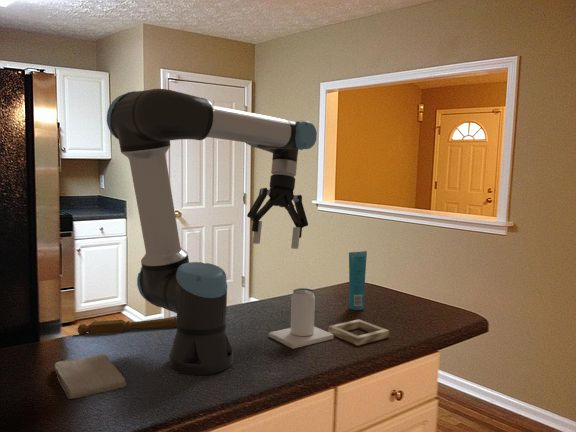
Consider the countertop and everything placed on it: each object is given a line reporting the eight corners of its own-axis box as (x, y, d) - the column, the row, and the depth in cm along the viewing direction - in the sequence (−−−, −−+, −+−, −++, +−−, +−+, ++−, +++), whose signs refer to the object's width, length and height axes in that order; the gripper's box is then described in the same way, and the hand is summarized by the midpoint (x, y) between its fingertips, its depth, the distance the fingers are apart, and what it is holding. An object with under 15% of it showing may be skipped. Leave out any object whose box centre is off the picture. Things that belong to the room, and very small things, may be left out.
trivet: (292, 348, 135) (292, 344, 135) (269, 336, 144) (269, 332, 144) (333, 338, 143) (333, 334, 143) (308, 327, 152) (308, 323, 152)
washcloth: (104, 361, 125) (104, 349, 125) (128, 389, 111) (128, 375, 111) (51, 372, 119) (50, 359, 118) (69, 403, 104) (69, 388, 104)
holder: (357, 345, 139) (357, 338, 138) (328, 332, 148) (328, 326, 148) (388, 337, 146) (389, 330, 145) (358, 325, 155) (359, 319, 155)
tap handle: (188, 318, 150) (77, 326, 141) (188, 328, 151) (77, 337, 141) (187, 315, 153) (78, 322, 144) (187, 325, 154) (78, 333, 144)
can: (312, 337, 140) (313, 294, 139) (288, 335, 141) (289, 292, 140) (315, 330, 146) (316, 288, 145) (292, 328, 148) (293, 287, 146)
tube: (358, 304, 178) (361, 249, 176) (369, 308, 174) (371, 251, 172) (342, 308, 173) (345, 251, 171) (353, 311, 169) (355, 253, 167)
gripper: (309, 184, 166) (302, 250, 164) (240, 169, 153) (232, 241, 150) (323, 182, 160) (316, 250, 158) (253, 166, 146) (245, 241, 144)
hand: (275, 246), depth 154 cm, fingers open, 13 cm apart
